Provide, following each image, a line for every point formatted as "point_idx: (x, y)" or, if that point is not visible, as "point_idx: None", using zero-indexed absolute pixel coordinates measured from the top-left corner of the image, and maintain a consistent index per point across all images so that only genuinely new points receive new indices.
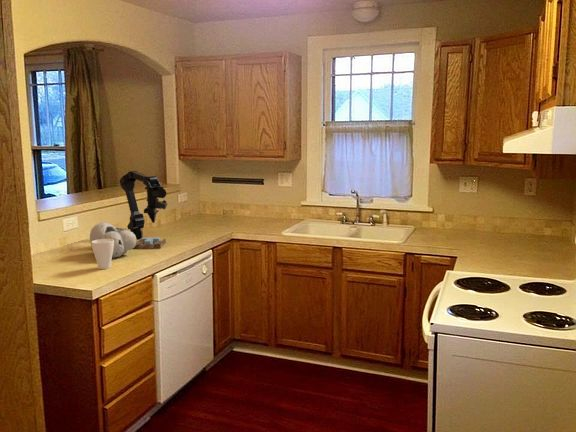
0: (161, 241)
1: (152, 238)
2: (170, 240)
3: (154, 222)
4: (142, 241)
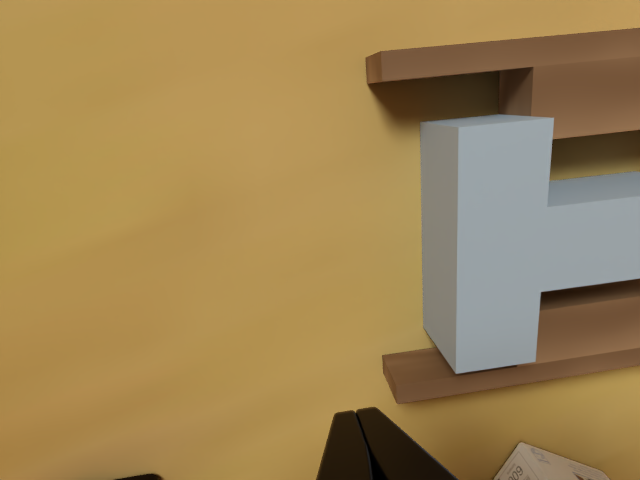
0: (572, 60)
1: (532, 223)
2: (180, 43)
3: (352, 411)
4: None
